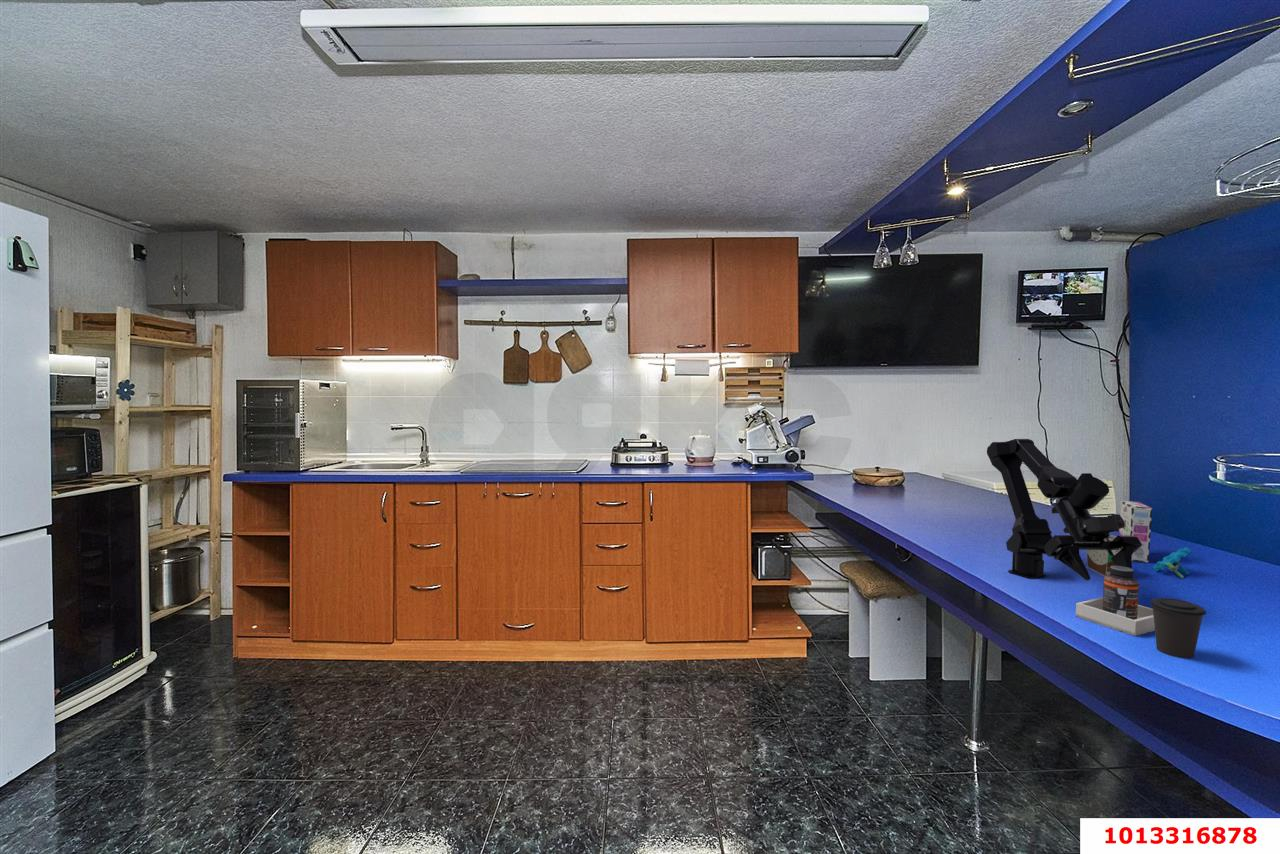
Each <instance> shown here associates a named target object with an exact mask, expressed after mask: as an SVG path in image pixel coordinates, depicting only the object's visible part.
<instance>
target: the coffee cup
mask: <svg viewBox="0 0 1280 854" xmlns="http://www.w3.org/2000/svg"><path fill="white" fill-rule="evenodd" d="M1149 605H1151V607H1152V609H1153V615H1154V626H1155V631H1154V633H1155V634H1154V635H1155V636H1154V637H1155V644H1156V650H1157V651H1158V652H1160V653H1163V654H1165V655H1167V656H1170V657H1175V658H1179V659H1193V658H1194V657H1195V654H1196V653H1195V652H1196V648H1197V644H1198V639H1199V634H1200V630H1201V625H1202V621H1203V616H1205V615H1207V611H1206V609H1204V607H1203V606H1201V605H1197V604H1195V603H1192V602H1190V601H1188V600H1183V599H1178V598H1172V597H1166V598H1165V597H1159V598H1158V597H1157V598H1152V599H1151V600H1150V601H1149Z"/></svg>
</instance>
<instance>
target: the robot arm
mask: <svg viewBox="0 0 1280 854" xmlns="http://www.w3.org/2000/svg"><path fill="white" fill-rule="evenodd" d="M986 454H987V457H988V458H989V461H990V463H991V466H992V467H994V468H995V469H996V470H997V471H998V472H1000V474H1001V477H1002V480H1003V483H1004V487H1005V490H1006V492H1007V496H1008V500H1009V502H1010V505H1011V509H1012V512H1013V515H1014V518H1015V519H1014V523H1013V526H1012V528H1011V531H1012V535H1011V536H1010V537H1009V539H1007V541H1006V542H1005V545H1006V550H1007V551H1009V552H1011V553H1012V562H1011V563H1012V564H1011V566H1012V567H1011V569H1008V570H1007V572H1008V573H1010V574H1014V575H1017V576H1020V577H1023V578H1028V579H1036V578H1040V577H1046V576H1047V574H1046V573H1044V569H1045V560H1044V559H1043V556H1044V555H1046V556H1047V557H1049V558H1053V559H1054V560H1056V561H1059V562H1061V563H1062V564H1063V565H1065V566H1066V567H1068V568H1069V569H1070V570H1072V571H1074V573H1076V574H1077V575H1079V576H1080V577H1081V578H1083V579H1084V580H1085V581H1087V582H1088V581H1090V580H1091V576H1090V574H1089V571H1088V569H1087V566H1086V565H1085V564H1084V561H1083V560H1082V557H1081V554H1080V550H1081V551H1087V550H1107V551H1108V553H1109V554H1110V555H1111V556H1113V557H1112V558H1111V560H1112V561H1113V562H1114V564H1115V565H1116V566H1123V567H1128V568H1131V569H1133V564H1132V563H1133V561H1132V554H1133V553H1134V552H1135V551H1136V550H1137V549H1139V548H1140V547H1141V546H1142V544H1141V542H1140V540H1139V539H1138V537H1136V536H1119V535H1116V536H1117V537H1116V538H1115V539H1113V540H1112V541H1105V540H1104V539H1105V538H1108V537H1109V536H1110V535H1111V534H1110V533H1113V532H1116V533H1117V532H1118V533H1119V529H1121V528H1124V527H1125V523H1124V520H1123V519H1122V517H1121V516H1120V513H1119V514H1117V513H1112V514H1109V515H1107V516H1091V513H1090V512H1089V510H1091V509H1094V508H1095V507H1096V506H1097V505H1098V504H1100V502H1101V501H1102V500H1103V499H1104V498H1105V497H1106V496H1108V494H1109V493H1110V488H1109V485H1108V484H1107V483H1106V482H1104V481H1102V479H1100V478H1098V477H1095V476H1093V474H1092V473H1091V472H1087V473H1086V472H1085V473H1084V472H1082V473H1081V474H1080V475H1079V477H1078V478H1077V477H1076V476H1074V475H1073V474H1072V473H1070V472H1068V471H1066V470H1064V469H1061V468H1058V467H1057V466H1056V465H1054V464H1053V462H1051V460H1049V459H1048V457H1046V455H1044V453H1043V452H1042V451H1041V450H1040V449H1039V448H1038V447H1037V446H1036V445H1035V442H1034V441H1033V439H1029V438H1014V439H1010V440H1008V441H1007V440H1006V441H992V442H991V443H990V445H988V446H987V448H986ZM1022 464H1024V465H1025V467H1027V469H1029V470H1030V471H1031V472H1032V474H1033V475H1034V476H1035V477H1036V479H1037V484H1036V485H1037V487H1038V489H1039V490H1040V492H1041V493H1042V495H1043V496H1044V497H1045V498H1046V499H1059V500H1058V501H1057V502H1054V504H1053V507H1052V508H1051V514H1058V515H1059V517H1060V518H1061V520H1062V522H1063V524H1064V526H1065V527H1064V528H1063V532H1064V534H1065V535H1064V534H1063V535H1061V534H1055V535H1053V534H1052V533H1053V532H1052V531H1051V529H1050V525H1049V522H1048V520H1047V519H1046V518H1040V517H1039V516H1038V515H1037V514H1036V511H1035V508H1034V504H1033V502H1032V500H1031V499H1032V498H1031V496H1030V493H1029V489H1028V487H1027V484H1026V481H1025V478H1024V475H1023V472H1022V469H1021V467H1022ZM1067 534H1068V535H1067Z"/></svg>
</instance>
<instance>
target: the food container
mask: <svg viewBox="0 0 1280 854" xmlns="http://www.w3.org/2000/svg"><path fill="white" fill-rule="evenodd" d="M1117 536H1118V535H1112V534H1110V536H1109V537H1108V538H1105V539H1104V540H1105V541H1112V540H1113V539H1115V538H1116V537H1117ZM1112 557H1113V556H1111V555H1110V554H1109V553H1108V551H1107V550H1086V569H1087V568H1088V569H1089V570H1091V571H1093V572H1094V573H1097V574H1099V575H1101V576H1102V577H1103V578H1104V577H1105V576H1107V575H1109V574H1110V567H1111V566H1116V565H1115V564H1114V562H1113V561H1112V560H1111V558H1112Z"/></svg>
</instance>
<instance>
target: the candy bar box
mask: <svg viewBox="0 0 1280 854" xmlns="http://www.w3.org/2000/svg"><path fill="white" fill-rule="evenodd" d="M1119 515H1120V516H1121V517H1122V519H1123V520H1124V523H1125V527H1124V528H1121V529H1119V531H1118V536H1136V537H1138V539H1139V540H1140V542H1141V544H1142V546H1141V547H1140V548H1139V549H1137V550H1136V551H1135V552H1134V553H1133V554H1132V562H1136V563H1144V562H1145V563H1147V564H1148V563H1150V549H1151V547H1150V546H1151V534H1152V517H1153V507H1151V506H1148V505H1147V504H1144V503H1142V502H1140V501H1132V500H1120V509H1119Z"/></svg>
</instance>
